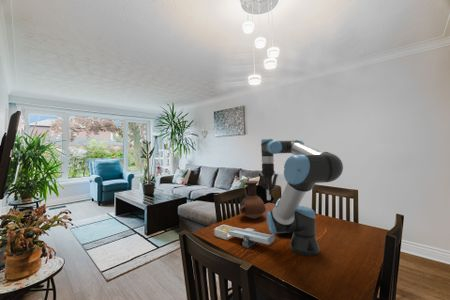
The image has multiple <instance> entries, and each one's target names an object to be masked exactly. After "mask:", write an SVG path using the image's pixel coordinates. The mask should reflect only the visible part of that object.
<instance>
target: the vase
mask: <svg viewBox="0 0 450 300" xmlns="http://www.w3.org/2000/svg"><path fill="white" fill-rule="evenodd" d="M258 183H259V181H258V180H245V181H244V184H245V185H246V187H247V195H245V197H243V199H242V201H241V202H240V207H239V210H240V211H239V212H240V213H241V214H242V215H243V216H245V217H247V218H249V219H252V220H256V219H257V218H260V217H261V216H263V214H264V213H265V212H267V208H266V205H265V202H264V201H263V198H261V197H260V196H258V195H257V184H258Z"/></svg>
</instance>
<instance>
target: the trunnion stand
mask: <svg viewBox="0 0 450 300" xmlns="http://www.w3.org/2000/svg"><path fill="white" fill-rule="evenodd" d="M255 232H257V231H256V230H255ZM257 243H258V242H256V241H252V240H249V237H248V236H244V238H243V241H242V247H243V248H245V249H250V248H251V247H253V246H254V245H256V244H257Z"/></svg>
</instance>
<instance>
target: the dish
mask: <svg viewBox="0 0 450 300" xmlns="http://www.w3.org/2000/svg"><path fill="white" fill-rule="evenodd" d="M222 229H226V231H227V232H224V231H221V230H222ZM234 230H235V227H234V226H231V225H227V224H222V225H221V224H220V225H219V226H217V227H215V228H213V235H214V237H217V238H219V239H223V240H226V241H227V240H230V239H231V238H233V237H234V236H231V235H229V232H228V231H234Z"/></svg>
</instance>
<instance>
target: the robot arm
mask: <svg viewBox="0 0 450 300" xmlns="http://www.w3.org/2000/svg"><path fill="white" fill-rule="evenodd" d="M260 147H261V150H260V152H261V172H259V173H258V174H257V175H258V176H259V179H260V183H261V187H262V189H264V190H265V195H266V201H271V199H272V195H273V190H274V189H275V188H276V183H277V179H278V177H279V173H276V172H275V164H274V162H275V159H274V155H277V154H292V155H291V156H289V157H288V158H287V159H286V160H285V163H284V165H283V176H284V179H285V181H286V185H285V188H284V190H283V192H282V194H281V196H280V197H281V198H280V200H279V202H278V204H277V205H275V206H273V208H272V210H266V213H265V214H266V224H267V228H268V230H269V232H270V233H271V234H284V233H292V237H291V238H290V239H291V240H290V244H289V247H290V250H291V251H292V252H294V253H295V254H297V255H301V256H306V257H314V256H316V255H318V254H319V253H320V245H319V242H318V239H317V236H316V212H315V210H314V209H312V208H310V207H308V206H304V205H300V204H301V202H302V200H303V199H304V196H305V195H306V192H309V191H311V190H312V189H313V188H314V186H315V185H316V184H320V183H321V184H322V183H331V182H334V181H335V180H337V179H339V178H340V176H341V175H342V173H343V170H344V164H343V161H342V160H341V158H340V157H338V155H336V154H334V153H331V152H328V151H320V150H318V149H315V148H313V147H310V146H308V145H306V144H305V143H304V141H302V140H298V139H296V140H274V138H262V139H261V142H260Z"/></svg>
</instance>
